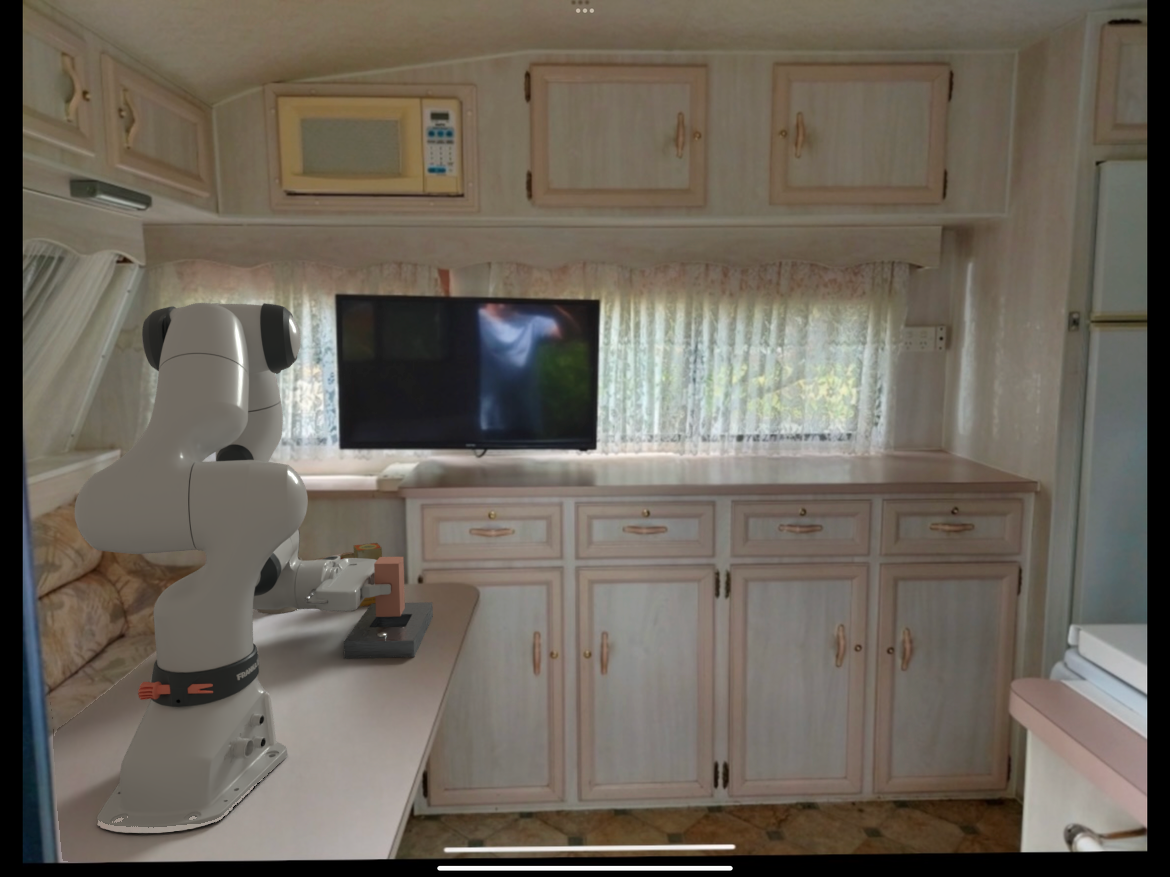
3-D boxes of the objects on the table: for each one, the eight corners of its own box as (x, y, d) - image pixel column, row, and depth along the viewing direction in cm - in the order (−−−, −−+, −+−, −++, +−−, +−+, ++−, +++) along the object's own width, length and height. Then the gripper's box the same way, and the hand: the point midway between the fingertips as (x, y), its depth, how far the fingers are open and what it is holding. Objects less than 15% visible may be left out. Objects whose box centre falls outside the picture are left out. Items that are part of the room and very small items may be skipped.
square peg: (400, 616, 136) (398, 563, 135) (376, 616, 136) (374, 563, 135) (404, 608, 141) (403, 556, 140) (381, 608, 141) (379, 556, 139)
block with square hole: (414, 657, 129) (413, 638, 129) (344, 658, 129) (343, 640, 128) (432, 616, 149) (432, 600, 149) (372, 617, 149) (371, 601, 148)
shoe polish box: (378, 596, 162) (377, 542, 160) (383, 603, 157) (381, 548, 156) (355, 600, 159) (353, 545, 158) (359, 606, 155) (357, 550, 154)
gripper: (299, 585, 127) (381, 584, 127) (334, 553, 147) (404, 552, 148) (301, 621, 127) (382, 620, 128) (335, 583, 148) (405, 582, 148)
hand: (394, 583), depth 138 cm, fingers closed on square peg, 4 cm apart
